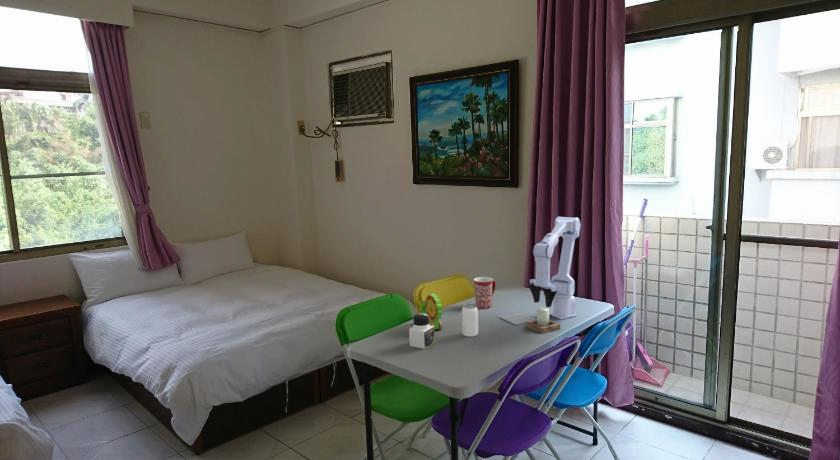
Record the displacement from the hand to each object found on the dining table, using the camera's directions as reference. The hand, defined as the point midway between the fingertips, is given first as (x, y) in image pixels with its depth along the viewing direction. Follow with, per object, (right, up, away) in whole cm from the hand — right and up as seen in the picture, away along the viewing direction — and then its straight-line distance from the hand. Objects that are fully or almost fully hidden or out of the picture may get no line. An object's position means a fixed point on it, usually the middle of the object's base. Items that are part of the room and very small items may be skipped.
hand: (542, 304), depth 215 cm
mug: (-19, -6, +34) cm, 39 cm away
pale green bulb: (+1, -10, +2) cm, 10 cm away
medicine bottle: (-50, -14, -13) cm, 54 cm away
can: (-30, -12, -3) cm, 33 cm away
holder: (+1, -10, +2) cm, 10 cm away
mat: (-7, -8, +13) cm, 17 cm away
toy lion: (-46, -11, +6) cm, 48 cm away
